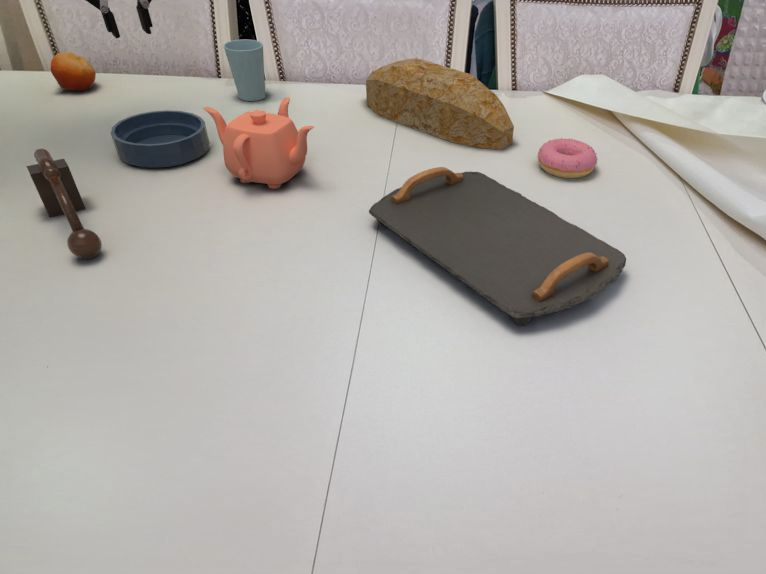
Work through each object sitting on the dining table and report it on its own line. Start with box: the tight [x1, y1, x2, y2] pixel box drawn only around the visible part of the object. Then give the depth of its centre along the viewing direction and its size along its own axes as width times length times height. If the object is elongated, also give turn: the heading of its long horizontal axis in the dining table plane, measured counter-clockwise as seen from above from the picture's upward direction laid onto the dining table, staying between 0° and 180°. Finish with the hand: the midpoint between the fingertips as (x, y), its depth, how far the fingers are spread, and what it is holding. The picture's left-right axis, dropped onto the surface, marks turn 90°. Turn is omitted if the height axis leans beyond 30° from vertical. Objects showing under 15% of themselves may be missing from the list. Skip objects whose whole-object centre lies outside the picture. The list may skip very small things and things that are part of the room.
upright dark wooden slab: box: [25, 158, 86, 218], centre depth 92 cm, size 3×5×7 cm, turn 127°
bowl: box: [110, 109, 211, 169], centre depth 109 cm, size 15×15×4 cm
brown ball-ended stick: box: [33, 148, 103, 260], centre depth 87 cm, size 20×4×9 cm, turn 37°
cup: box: [223, 38, 267, 102], centre depth 129 cm, size 8×8×10 cm
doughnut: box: [536, 137, 598, 179], centre depth 112 cm, size 11×11×4 cm
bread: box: [365, 57, 515, 151], centre depth 124 cm, size 36×11×10 cm, turn 53°
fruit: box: [50, 52, 97, 94], centre depth 129 cm, size 8×8×8 cm
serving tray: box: [368, 166, 627, 327], centre depth 90 cm, size 39×23×6 cm, turn 41°
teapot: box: [203, 97, 315, 189], centre depth 102 cm, size 14×14×11 cm
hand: (131, 32), depth 108 cm, fingers open, 4 cm apart
